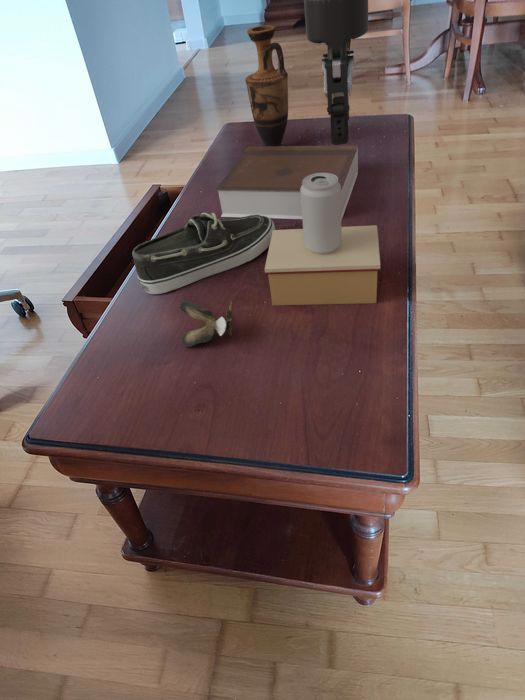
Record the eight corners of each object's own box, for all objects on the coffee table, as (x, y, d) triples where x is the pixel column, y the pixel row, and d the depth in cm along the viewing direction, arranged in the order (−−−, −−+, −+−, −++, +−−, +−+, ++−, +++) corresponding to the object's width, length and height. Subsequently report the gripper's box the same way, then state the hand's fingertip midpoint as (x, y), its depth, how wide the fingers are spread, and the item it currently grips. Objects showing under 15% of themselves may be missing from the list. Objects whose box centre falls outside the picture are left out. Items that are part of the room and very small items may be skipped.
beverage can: (332, 233, 91) (330, 167, 83) (348, 250, 86) (347, 182, 78) (299, 242, 90) (293, 177, 82) (312, 260, 85) (308, 192, 77)
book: (251, 171, 135) (248, 146, 131) (358, 171, 127) (358, 145, 123) (220, 216, 118) (215, 189, 114) (341, 220, 110) (340, 191, 106)
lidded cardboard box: (376, 263, 97) (377, 225, 91) (379, 304, 87) (380, 265, 82) (276, 266, 100) (272, 229, 95) (269, 307, 90) (264, 269, 85)
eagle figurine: (232, 309, 89) (179, 308, 89) (233, 294, 83) (176, 292, 82) (231, 351, 87) (178, 350, 87) (233, 339, 80) (175, 338, 80)
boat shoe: (289, 243, 106) (285, 199, 99) (158, 307, 95) (143, 262, 88) (259, 226, 113) (253, 183, 106) (134, 283, 102) (119, 239, 95)
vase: (250, 160, 141) (232, 35, 121) (261, 145, 148) (247, 24, 128) (288, 160, 138) (277, 32, 118) (298, 144, 145) (289, 21, 125)
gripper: (369, -5, 54) (369, 149, 65) (367, -23, 65) (367, 112, 75) (298, 5, 56) (310, 154, 66) (307, -14, 66) (316, 117, 77)
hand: (340, 132), depth 71 cm, fingers open, 8 cm apart
